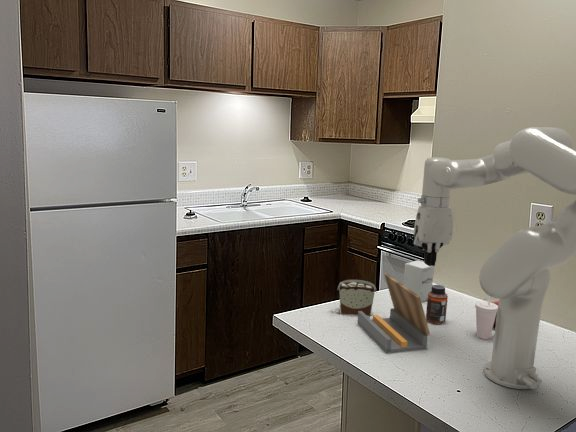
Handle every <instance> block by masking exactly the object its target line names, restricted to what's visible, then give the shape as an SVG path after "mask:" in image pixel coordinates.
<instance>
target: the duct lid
mask: <svg viewBox="0 0 576 432" xmlns="http://www.w3.org/2000/svg"><path fill="white" fill-rule="evenodd" d="M383 276H384V278H385V281H386V284H387V288H388V291H389V296H390V298H391V302H392V306H393V308H394V309H396V310H397V311H398V312H399V313H400V314H402V315H403V316H404V317H405V318H407V319H408V320H409V321H410V322H411V323H413V324H414V325H415V326H416V327H418V328H419V329H420V330H421V331H422V332H424V333H425V334H426V335H427V337H428V336H430V335H431V333H430V329H429V325H428V321H427V320H426V313H425V310H424V306H423V303H422V302H421V299H420V296H418V295H417V294H416V293H414V292H413V291H411V290H410V289H408V288H407V287H406V286H404V285H403V283H401V282H400V281H398V280H397V279H395V278H394V277H393V276H391V275H390V274H388V273H384V275H383Z"/></svg>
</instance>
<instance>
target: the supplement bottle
mask: <svg viewBox="0 0 576 432" xmlns="http://www.w3.org/2000/svg"><path fill="white" fill-rule="evenodd" d="M431 290H432V291H430V292H429V293H428V298H427V300H426V313H425V317H426V321H427V323H430V324H433V325H434V324H435V325H441V324H444V323H446V318H447V308H448V298H449V297H448V294H447V293H446V287H445V286H444V285H442V284H432V289H431Z"/></svg>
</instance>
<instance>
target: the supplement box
mask: <svg viewBox="0 0 576 432" xmlns="http://www.w3.org/2000/svg"><path fill="white" fill-rule="evenodd" d="M403 271H404V272H403V273H404V274H403V283H402V284H403V285H404V286H406V287H407V288H408V289H410V290H411V291H413V292H414V293H416V294H417V295H418V296H420V299H421V303H422V302H425V301H426V302H427V298H428V293H429V292H430V291H432V290H431V289H432V285H434V284H433V283H434V272H435V266H428V265H427V264H425V263H424V261H422V260H421V261H420V260H418V259H417V260H414V261H409V262H406V263H404V270H403Z"/></svg>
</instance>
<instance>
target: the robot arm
mask: <svg viewBox="0 0 576 432" xmlns="http://www.w3.org/2000/svg"><path fill="white" fill-rule="evenodd" d="M423 167H424V169H423V178H422V191H421V195H420V197H419V198H417V203H418V204H420V205H419V206H418V208H417V210H416V211H417V213H416V215H415V219H414V220H415V221H414V228H413V238H414V240H413V245H414V246H417V247H421V248H422V250H423V251H424V254H423V255H424V256H423V262H424V263H425V264H427V265H428V266H434V267H435V266H436V262H437V257H438V256H437V255H438V253H439V251H440V249H441V248H442V247H443V246H447V245H449V244H450V242H451V241H452V239H453V229H454V228H453V227H454V225H453V223H454V222H453V219H454V218H453V209H452V207H451V206H450V199H451V189H453V190H455V189H457V190H458V189H466V188H480V187H483V186H487V185H491V184H496V183H498V182H502V181H504V180H509V179H511V178H513V177H517V176H520V175H524V174H527V173H529V174H531V175H532V176H534V177H535V178H537V179H539V180H541V181H543V182H544V183H546V184H547V185H549V186H551V187H552V188H554V189H556V190H557V191H559V192H562V193H564V194H567V195H575V196H576V149H574V140H573V138H572V136H571V135H570V133H569V132H568V131H566V130H564V129H562V128H560V127H556V126H555V127H553V126H547V127H546V126H545V127H544V126H543V127H542V126H539V127H538V126H537V127H536V126H531V127H527V128H526V127H525V128H523V129H521V130H520V131H518V132H517V133H516V134H514V136H513V137H512V138H511V140H506V141H504V142H501V143H499V144H497V145H496V146H495V148H494V149H493V153H492V154H490V155H485V156H483V157H480V158H474V159H473V158H471V159H469V158H468V159H466V158H465V159H451V158H447V157H439V156H438V157H436V156H435V157H432V156H431V157H427V158H426V159H425V161H424V166H423ZM574 257H576V198H575V199H574V200H573V201H571V202H569V203H568V204H567V205H566V206H565V207H564V208H563V209H561V211H560V212H559V213H557V215H556V216H554V217H553V218H552V219H550V221H548V222H546V223H543V224H541V225H536V226H530V227H526V228H523V229H520V230H518V231H516V232H515V233H513V234H512V235H511V236H510V237H508V238H507V239H506V240H505V241H504V242H503V243H502V244H501V245H500V247H499V248H497V250H496V251H494V252H493V253H492V254H491V255H490V257H489V258H487V259H486V261H485V262H484V263H483V265H482V266H481V268H480V270H479V277H478V279H479V286H480V288H481V289H482V290H483V292H484V293H485V294H486V295H487V296H488V297H489V296H491V298H493V299H496V300H498V301H499V304H498V310H497V317H496V325H494V326H495V328H494V333H493V334H494V336H493V345H492V352H491V354H492V355H491V359H490V361H488V362H486V363H485V364H484V366H483V373H484V375H485V376H486V378H488V379H489V380H490V381H492V382H494V383H495V384H498V385H500V386H502V387H506V388H509V389H515V390H528V389H529V390H530V389H531V390H536V389H537V388H538V385H541V384H542V383H543V380H542V378H540V377H539V375H538V374H537V367H535V366H534V365H535V359H536V351H537V343H538V337H539V336H538V335H539V327H540V322H541V315H542V309H543V303H544V300H545V296H546V293H547V290H548V287H549V284H550V280H551V271H550V269H553V268H556V267H560V266H564V265H565V264H566V263H569V262H570V260H572V259H573V258H574Z"/></svg>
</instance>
